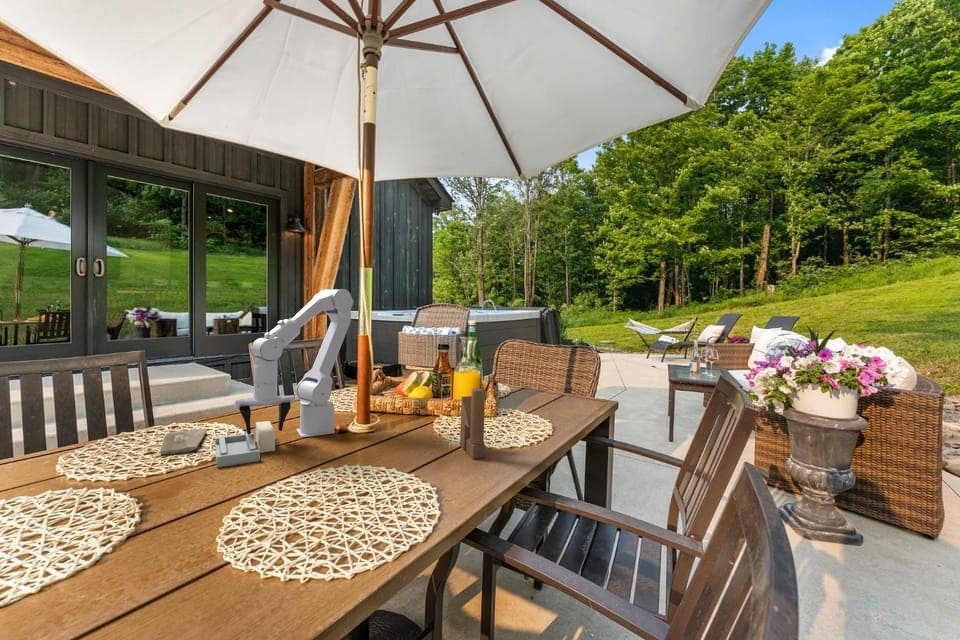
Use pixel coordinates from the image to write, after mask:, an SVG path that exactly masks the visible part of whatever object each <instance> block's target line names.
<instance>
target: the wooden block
mask: <svg viewBox="0 0 960 640" xmlns="http://www.w3.org/2000/svg"><path fill="white" fill-rule="evenodd" d="M485 404H486V389H485V388H479V387H477V388H476V387H475V388H472V389H471V395H470V396H469V395H468V396H461V406H460V408H461V409H460V413H461V414H460V434H459V436H460V437H459V441H460V442H459V446H460V447H461V449H463V450H464V451H465V450H466V451H465V453H466V454H467V455H469V456H470V458H472V460H475V459H477V460H478V459H485V457H486V446H487V445H486V444H485V443H484V438H485V411H486V410H485V409H486V408H485V407H486V405H485Z"/></svg>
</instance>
